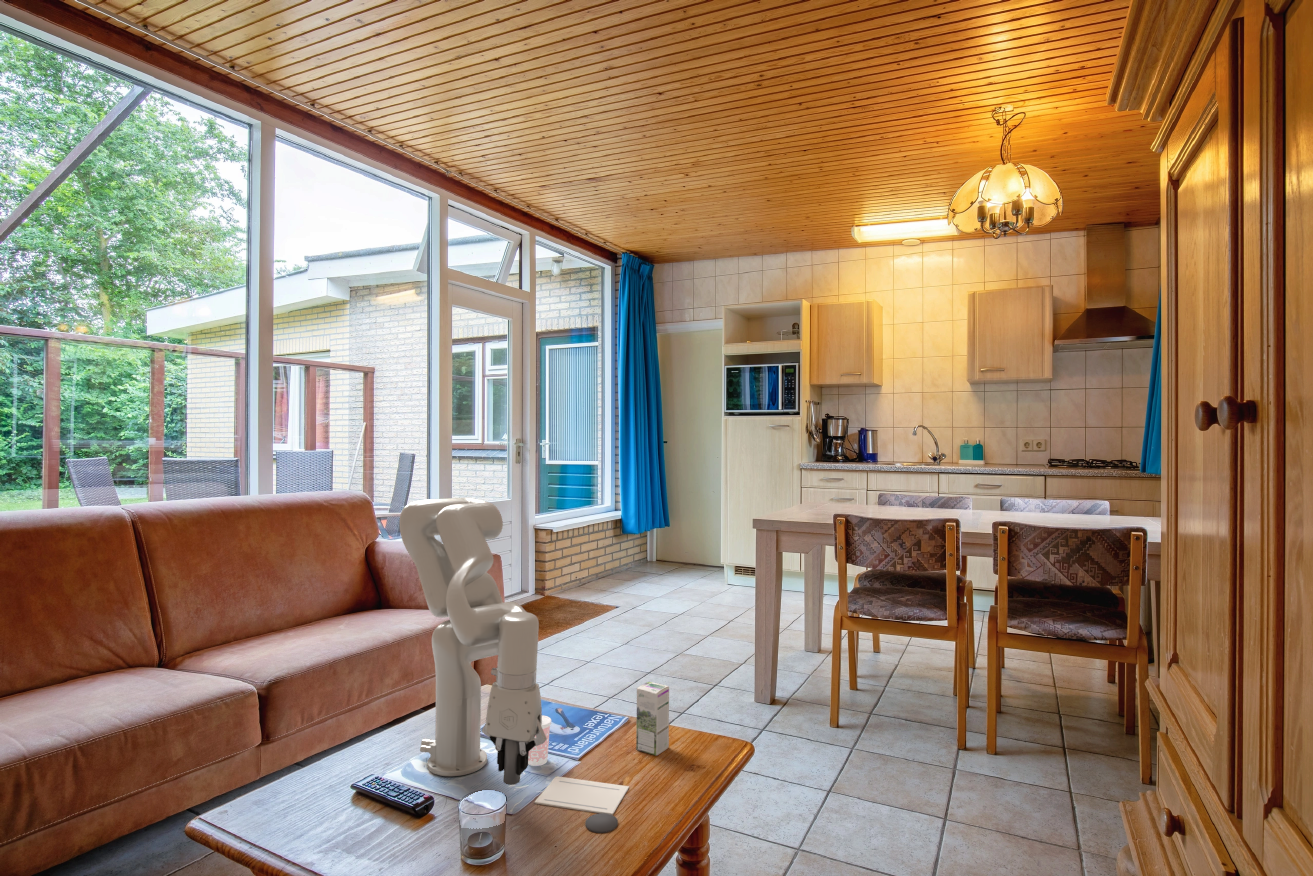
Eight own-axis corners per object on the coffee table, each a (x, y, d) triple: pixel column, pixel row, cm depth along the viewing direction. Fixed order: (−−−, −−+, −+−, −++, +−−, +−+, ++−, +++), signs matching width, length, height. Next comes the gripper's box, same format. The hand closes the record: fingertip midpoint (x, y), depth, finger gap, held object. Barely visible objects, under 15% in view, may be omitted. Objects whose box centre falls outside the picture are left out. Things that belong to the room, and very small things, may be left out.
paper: (534, 803, 139) (534, 801, 139) (556, 777, 150) (556, 776, 150) (612, 815, 136) (612, 813, 136) (629, 788, 146) (629, 786, 146)
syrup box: (669, 747, 166) (670, 685, 166) (655, 757, 161) (656, 692, 161) (649, 741, 169) (649, 680, 169) (634, 750, 164) (635, 687, 164)
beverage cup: (517, 765, 156) (518, 701, 156) (530, 753, 161) (531, 691, 161) (543, 769, 154) (544, 704, 154) (555, 757, 160) (556, 694, 160)
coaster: (580, 830, 130) (580, 828, 130) (591, 813, 136) (591, 811, 136) (612, 835, 129) (612, 833, 129) (621, 818, 135) (621, 816, 135)
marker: (499, 783, 138) (502, 727, 138) (507, 774, 142) (510, 720, 141) (515, 786, 137) (518, 730, 137) (523, 778, 141) (526, 723, 140)
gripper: (468, 678, 137) (464, 771, 138) (548, 691, 133) (543, 787, 134) (487, 665, 144) (483, 754, 145) (563, 676, 140) (558, 768, 141)
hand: (512, 769), depth 139 cm, fingers closed on marker, 3 cm apart
